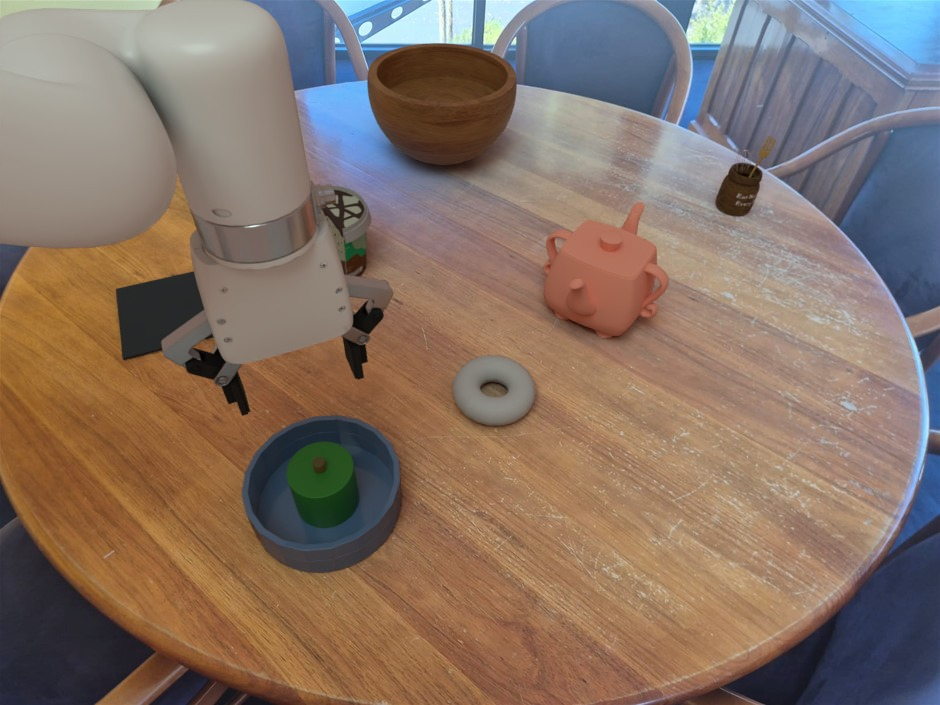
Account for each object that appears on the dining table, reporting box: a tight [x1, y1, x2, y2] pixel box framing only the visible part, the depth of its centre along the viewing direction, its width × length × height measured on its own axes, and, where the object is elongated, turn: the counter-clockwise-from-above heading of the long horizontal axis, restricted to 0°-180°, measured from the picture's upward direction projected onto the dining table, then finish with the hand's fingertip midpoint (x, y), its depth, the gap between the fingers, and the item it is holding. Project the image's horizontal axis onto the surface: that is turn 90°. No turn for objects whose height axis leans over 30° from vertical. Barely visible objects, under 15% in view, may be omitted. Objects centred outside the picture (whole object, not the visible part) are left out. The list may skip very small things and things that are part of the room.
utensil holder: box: [715, 135, 777, 217], centre depth 101 cm, size 6×6×12 cm
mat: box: [115, 270, 214, 361], centre depth 83 cm, size 12×14×1 cm
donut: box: [452, 354, 537, 427], centre depth 74 cm, size 10×4×10 cm
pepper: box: [287, 442, 359, 528], centre depth 62 cm, size 6×6×7 cm
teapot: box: [542, 201, 670, 339], centre depth 82 cm, size 15×17×13 cm
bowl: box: [366, 42, 518, 166], centre depth 108 cm, size 25×25×15 cm
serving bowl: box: [241, 414, 403, 574], centre depth 63 cm, size 15×15×5 cm
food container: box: [320, 184, 372, 277], centre depth 89 cm, size 12×6×10 cm, turn 34°
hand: (300, 384), depth 53 cm, fingers open, 9 cm apart
